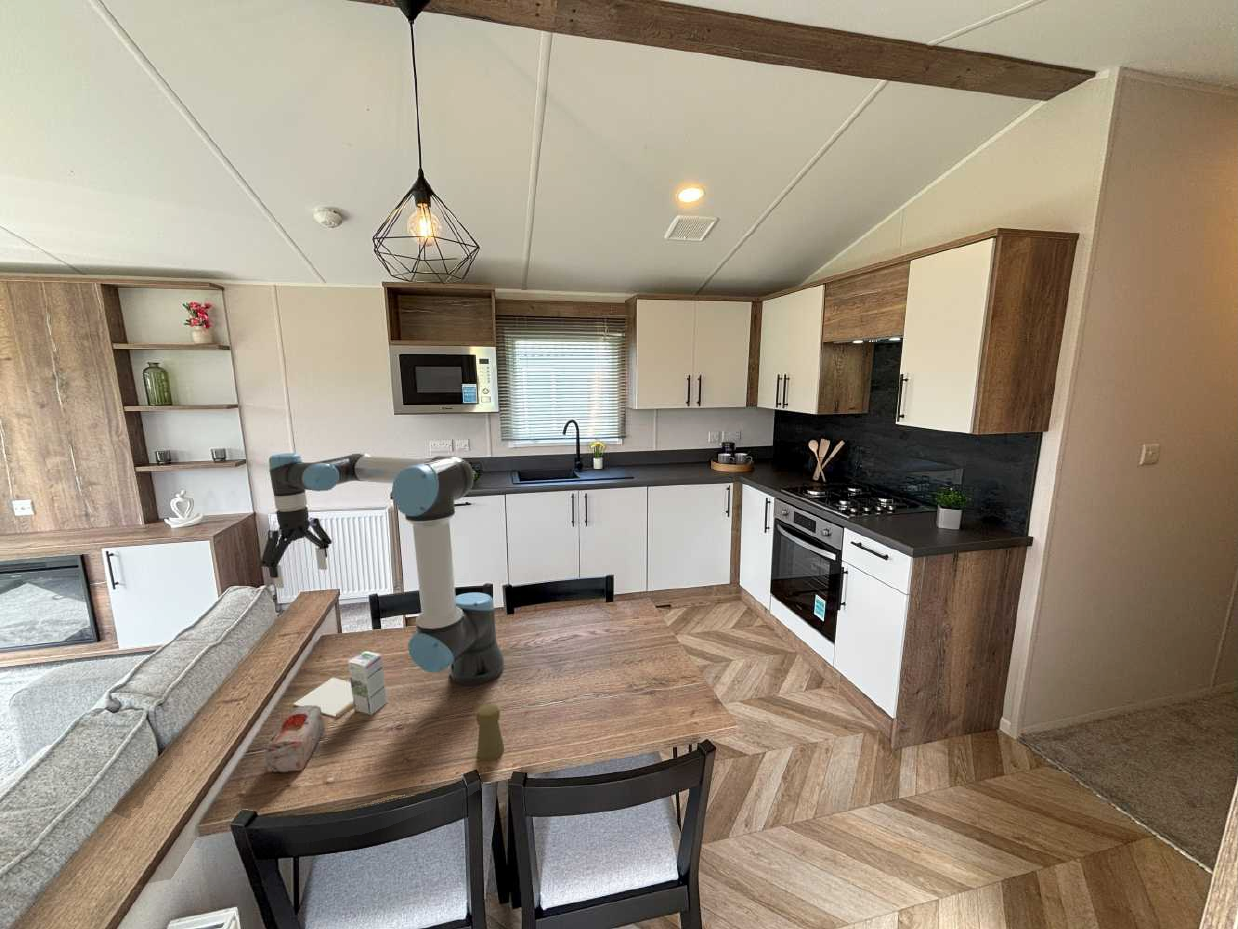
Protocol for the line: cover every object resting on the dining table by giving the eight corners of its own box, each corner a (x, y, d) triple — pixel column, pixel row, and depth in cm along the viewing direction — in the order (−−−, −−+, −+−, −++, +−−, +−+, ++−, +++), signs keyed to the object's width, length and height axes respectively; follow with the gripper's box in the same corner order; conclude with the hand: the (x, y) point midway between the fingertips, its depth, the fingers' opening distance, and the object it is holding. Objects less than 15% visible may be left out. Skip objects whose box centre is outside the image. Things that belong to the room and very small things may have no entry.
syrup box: (388, 702, 132) (382, 652, 129) (370, 716, 126) (364, 665, 124) (371, 698, 134) (365, 649, 131) (353, 712, 128) (346, 661, 125)
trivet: (375, 689, 137) (375, 686, 137) (338, 718, 126) (337, 714, 126) (332, 678, 142) (332, 675, 142) (293, 705, 131) (292, 701, 131)
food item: (305, 774, 108) (299, 735, 107) (265, 781, 107) (258, 741, 105) (328, 731, 122) (323, 695, 120) (292, 736, 120) (287, 700, 118)
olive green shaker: (480, 742, 117) (476, 700, 115) (505, 740, 117) (503, 699, 115) (474, 762, 111) (471, 718, 109) (502, 759, 112) (499, 716, 109)
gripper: (321, 496, 153) (329, 561, 157) (236, 519, 130) (249, 594, 134) (339, 498, 151) (347, 563, 155) (256, 521, 128) (268, 598, 132)
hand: (302, 578), depth 144 cm, fingers open, 13 cm apart
